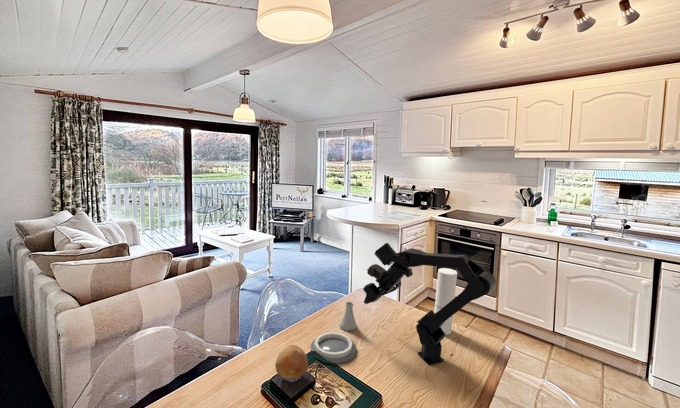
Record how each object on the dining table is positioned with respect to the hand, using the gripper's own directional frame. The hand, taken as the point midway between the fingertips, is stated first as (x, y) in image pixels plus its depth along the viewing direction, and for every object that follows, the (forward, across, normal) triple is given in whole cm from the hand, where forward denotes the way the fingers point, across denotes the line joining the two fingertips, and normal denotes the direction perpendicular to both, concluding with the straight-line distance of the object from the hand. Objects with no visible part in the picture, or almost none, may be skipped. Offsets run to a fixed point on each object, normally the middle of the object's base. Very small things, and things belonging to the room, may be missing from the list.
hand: (371, 299), depth 122 cm
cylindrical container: (-2, -21, +25) cm, 32 cm away
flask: (+15, +4, +1) cm, 16 cm away
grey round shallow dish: (+11, +20, +6) cm, 24 cm away
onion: (+11, +40, +6) cm, 42 cm away
